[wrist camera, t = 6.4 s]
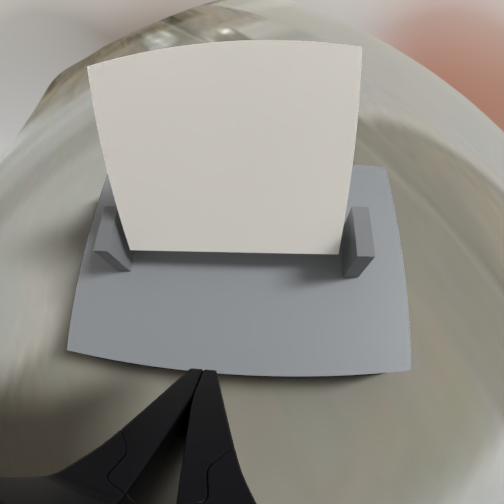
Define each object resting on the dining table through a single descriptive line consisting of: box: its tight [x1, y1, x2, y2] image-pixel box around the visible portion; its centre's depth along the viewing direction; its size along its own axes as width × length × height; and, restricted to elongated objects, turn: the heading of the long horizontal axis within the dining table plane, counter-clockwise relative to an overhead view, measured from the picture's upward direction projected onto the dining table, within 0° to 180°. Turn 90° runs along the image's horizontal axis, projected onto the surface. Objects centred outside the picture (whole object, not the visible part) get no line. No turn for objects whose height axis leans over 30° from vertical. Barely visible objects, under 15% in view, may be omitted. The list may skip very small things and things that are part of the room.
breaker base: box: [67, 165, 411, 376], centre depth 16 cm, size 12×18×6 cm, turn 87°
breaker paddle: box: [87, 40, 362, 254], centre depth 12 cm, size 2×10×9 cm, turn 87°
